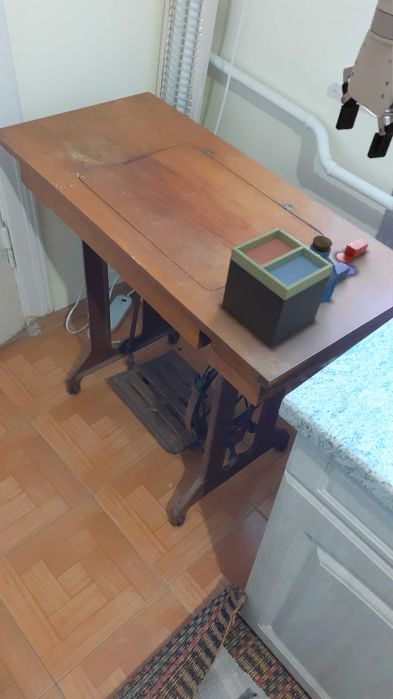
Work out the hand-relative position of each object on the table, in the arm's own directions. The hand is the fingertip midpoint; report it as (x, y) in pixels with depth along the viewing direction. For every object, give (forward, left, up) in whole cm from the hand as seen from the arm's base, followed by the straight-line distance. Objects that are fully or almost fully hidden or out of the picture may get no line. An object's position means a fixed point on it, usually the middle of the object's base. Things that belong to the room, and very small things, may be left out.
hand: (359, 142), depth 88 cm
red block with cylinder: (-6, -1, -24) cm, 24 cm away
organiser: (+11, +19, -13) cm, 26 cm away
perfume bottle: (+4, +13, -24) cm, 27 cm away
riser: (+11, +19, -24) cm, 32 cm away
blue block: (-3, +6, -24) cm, 24 cm away
